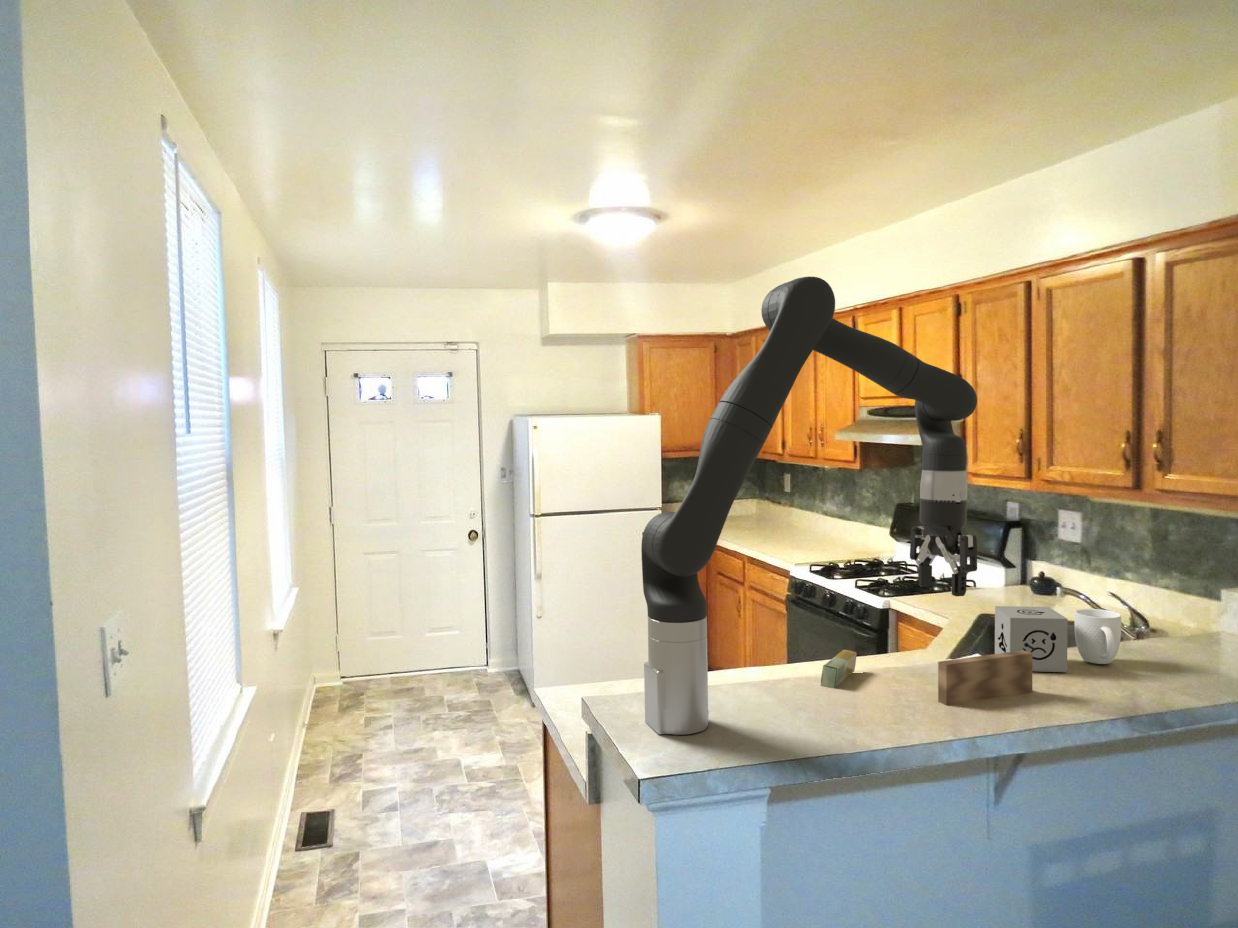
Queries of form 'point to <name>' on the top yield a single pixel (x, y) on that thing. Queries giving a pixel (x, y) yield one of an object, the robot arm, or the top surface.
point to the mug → (1097, 634)
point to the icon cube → (1033, 635)
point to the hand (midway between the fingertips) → (941, 590)
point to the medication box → (838, 668)
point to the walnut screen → (984, 677)
